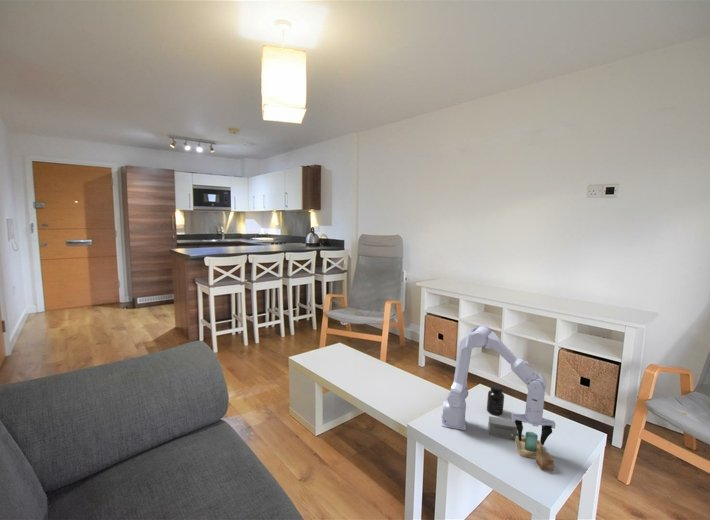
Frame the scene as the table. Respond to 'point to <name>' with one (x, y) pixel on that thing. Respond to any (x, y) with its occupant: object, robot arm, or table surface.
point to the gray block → (502, 427)
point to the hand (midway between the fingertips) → (530, 441)
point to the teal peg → (531, 441)
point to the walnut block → (544, 461)
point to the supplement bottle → (495, 400)
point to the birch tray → (526, 453)
